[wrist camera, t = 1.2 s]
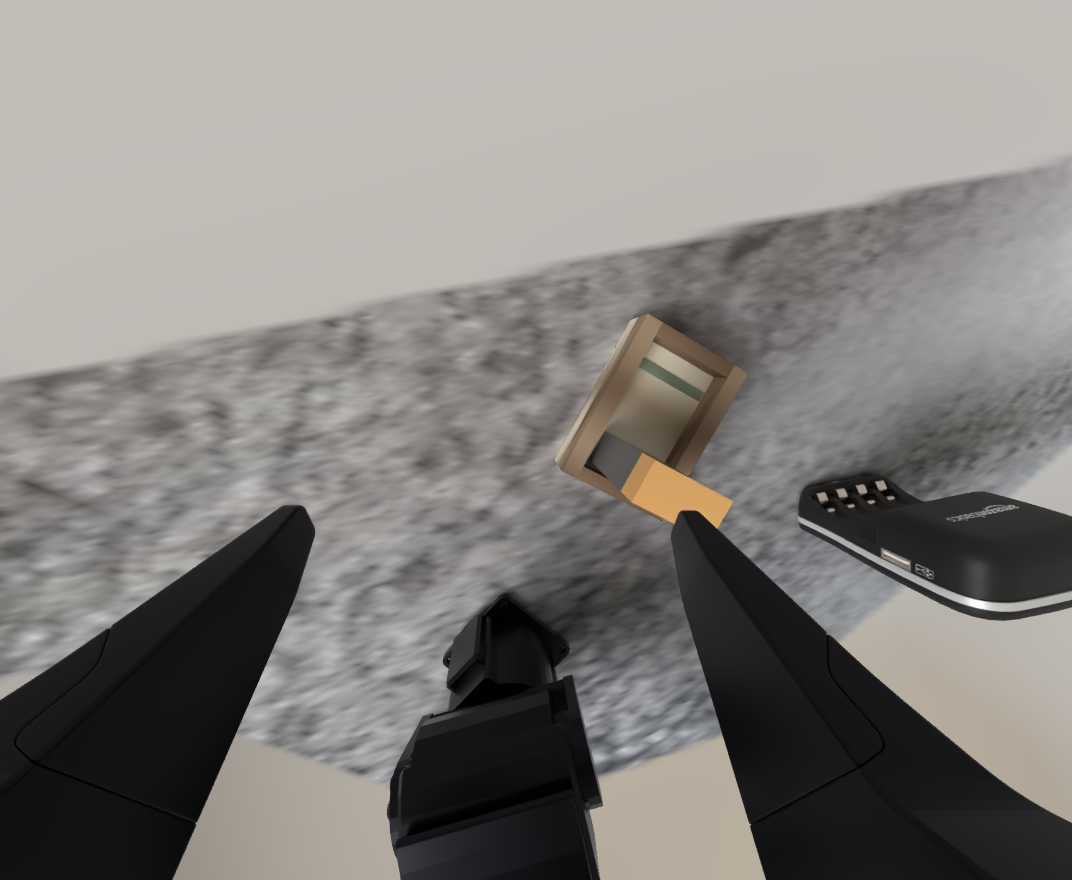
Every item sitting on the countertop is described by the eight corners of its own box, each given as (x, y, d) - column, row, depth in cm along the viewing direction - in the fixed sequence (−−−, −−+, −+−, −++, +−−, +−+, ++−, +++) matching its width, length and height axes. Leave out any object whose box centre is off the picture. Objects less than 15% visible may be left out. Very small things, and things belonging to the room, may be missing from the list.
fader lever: (643, 487, 25) (709, 541, 17) (589, 459, 24) (631, 502, 16) (659, 459, 25) (733, 501, 17) (604, 430, 24) (655, 460, 16)
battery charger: (883, 459, 28) (1140, 520, 17) (883, 509, 29) (1130, 600, 17) (789, 478, 27) (988, 552, 16) (792, 528, 28) (985, 633, 17)
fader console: (644, 504, 27) (661, 520, 24) (554, 459, 26) (561, 471, 23) (720, 373, 26) (748, 373, 23) (630, 320, 25) (647, 313, 22)
